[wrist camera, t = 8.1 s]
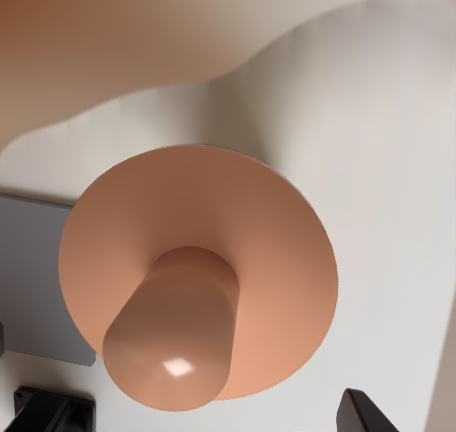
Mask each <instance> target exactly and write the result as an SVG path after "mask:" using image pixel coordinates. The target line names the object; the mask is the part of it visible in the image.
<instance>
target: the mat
mask: <svg viewBox="0 0 456 432" xmlns="http://www.w3.org/2000/svg"><path fill="white" fill-rule="evenodd" d="M72 209H73V207H72V206H66V205H61V204H55V203H50V202H44V201H38V200H33V199H27V198H22V197H16V196H10V195H5V194H0V321H2V322H3V324H4V332H5V349H6V350H11V351H16V352H21V353H26V354H31V355H36V356H41V357H46V358H51V359H56V360H60V361H65V362H70V363H75V364H80V365H85V366H90V367H91V366H92V365H93V363H94V362H95V350H94V349H93V348H92V347H91V346H90V345H89V343H88V342H87V341H86V340H85V338H84V337H83V336H82V334H81V333H80V331H79V330H78V328H77V327H76V325H75V323H74V321H73V319H72V317H71V315H70V313H69V311H68V308H67V306H66V303H65V300H64V297H63V294H62V289H61V285H60V279H59V268H58V260H59V247H60V242H61V237H62V232H63V229H64V227H65V224H66V221H67V218H68V216H69V214H70V213H71V211H72Z"/></svg>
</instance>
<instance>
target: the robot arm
mask: <svg viewBox="0 0 456 432" xmlns="http://www.w3.org/2000/svg"><path fill="white" fill-rule="evenodd" d="M4 350H5V332H4V324H3V322H2V321H0V358H1V357H2V355H3V353H4ZM14 407H15V418H14V419H13V420H12V422H11V423H10V424H9V425H8V427H7V428H6V429H5V430H4V431H3V432H95V413H96V405H95V403H94V402H93V401H90V400H86V399H81V398H76V397H71V396H67V395H62V394H57V393H52V392H47V391H42V390H38V389H33V388H28V387H23V386H20V387H18V388H17V389H16V391H15V392H14ZM336 423H337V432H399V431H398V430H397V429H396V427H395V426H394V425H393V424H392V423H391V422H390V421H389V420H388V418H387V417H386V416H385V415H384V414H383V413H382V412H381V411H380V409H379V408H378V407H377V406H376V405H375V404H374V403H373V402H372V400H371V399H370V398H369V397H368V396H367V395H366V394H365V393H364V392H363V391H361V390H356V389H351V388H347V389H345V391H344V393H343V396H342V399H341V402H340V405H339V408H338V411H337V417H336Z"/></svg>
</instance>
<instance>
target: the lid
mask: <svg viewBox="0 0 456 432" xmlns="http://www.w3.org/2000/svg"><path fill="white" fill-rule="evenodd" d="M58 268H59V279H60V285H61V289H62V294H63V297H64V300H65V303H66V306H67V308H68V311H69V313H70V315H71V317H72V319H73V321H74V323H75V325H76V327H77V328H78V330H79V331H80V333H81V334H82V336H83V337H84V338H85V340H86V341H87V342H88V343H89V345H90V346H91V347H92V348H93V349H94V350H95V352H96V353H98V354H99V355H100V356H101V357H102V358H103V360H104V364H105V367H106V369H107V371H108V373H109V375H110V377H111V378H112V380H113V381H114V383H115V384H116V385H117V386H118V387H119V388H120V389H121V390H122V391H123V392H124V393H125V394H127V395H128V396H129V397H130V398H132V399H134V400H135V401H137V402H139V403H141V404H143V405H145V406H148V407H151V408H154V409H158V410H163V411H174V412H178V411H187V410H192V409H196V408H199V407H201V406H204V405H206V404H207V403H209V402H211V401H213V400H228V399H234V398H240V397H245V396H248V395H252V394H255V393H258V392H261V391H263V390H266V389H268V388H270V387H273V386H275V385H276V384H278V383H280V382H282V381H283V380H285V379H287V378H288V377H289V376H291V375H292V374H293V373H295V372H296V371H297V370H299V369H300V368H301V367H302V366H303V365H304V364H305V363H306V362H307V361H308V360H309V359H310V358H311V357H312V355H313V354H314V353H315V351H316V350H317V349H318V347H319V346H320V345H321V343H322V341H323V339H324V338H325V336H326V334H327V332H328V330H329V327H330V325H331V322H332V319H333V317H334V313H335V308H336V303H337V296H338V274H337V265H336V260H335V256H334V253H333V249H332V245H331V243H330V241H329V238H328V236H327V234H326V231H325V229H324V227H323V225H322V223H321V221H320V219H319V217H318V216H317V214H316V212H315V211H314V209H313V207H312V206H311V204H310V203H309V202H308V200H307V199H306V198H305V197H304V196H303V194H302V193H301V192H300V191H299V190H298V189H297V188H296V187H295V186H294V185H293V184H292V183H291V182H290V181H289V180H288V179H287V178H286V177H284V176H283V175H282V174H280V173H279V172H277V171H276V170H275V169H273V168H272V167H270V166H269V165H267V164H265V163H263V162H261V161H259V160H257V159H256V158H254V157H252V156H249V155H246V154H243V153H241V152H238V151H235V150H232V149H228V148H223V147H219V146H214V145H203V144H181V145H172V146H167V147H161V148H157V149H154V150H151V151H148V152H145V153H142V154H139V155H136V156H134V157H131V158H129V159H127V160H125V161H123V162H121V163H119V164H117V165H115V166H113V167H112V168H111V169H109V170H108V171H106V172H105V173H104V174H102V175H101V176H99V177H98V178H97V179H96V180H95V181H94V182H93V183H92V184H91V185H90V186H89V187H88V188H87V189H86V190H85V191H84V193H83V194H82V195H81V197H80V198H79V199H78V201H77V202H76V203H75V205H74V207H73V209H72V211H71V213H70V214H69V216H68V218H67V221H66V224H65V227H64V229H63V232H62V237H61V242H60V247H59V260H58Z"/></svg>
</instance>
